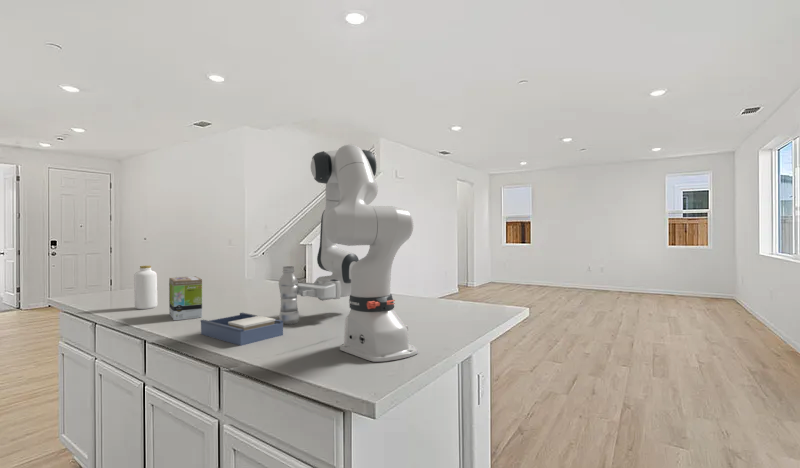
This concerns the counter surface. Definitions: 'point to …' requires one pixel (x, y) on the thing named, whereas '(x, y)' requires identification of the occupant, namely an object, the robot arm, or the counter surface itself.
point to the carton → (252, 322)
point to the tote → (240, 330)
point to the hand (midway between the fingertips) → (293, 292)
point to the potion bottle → (145, 288)
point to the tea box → (185, 297)
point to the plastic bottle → (288, 296)
